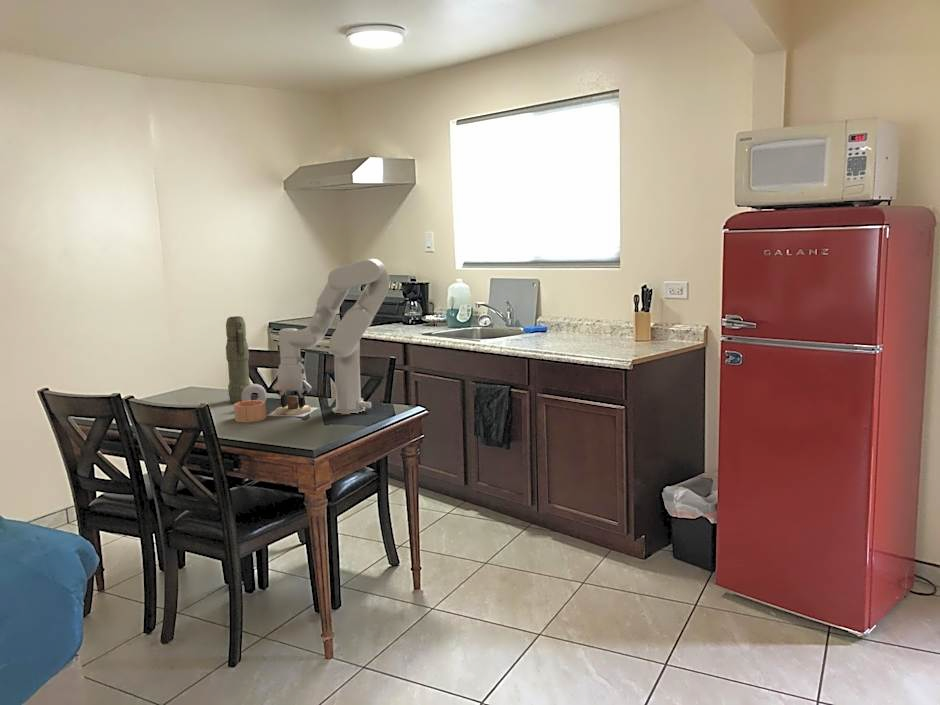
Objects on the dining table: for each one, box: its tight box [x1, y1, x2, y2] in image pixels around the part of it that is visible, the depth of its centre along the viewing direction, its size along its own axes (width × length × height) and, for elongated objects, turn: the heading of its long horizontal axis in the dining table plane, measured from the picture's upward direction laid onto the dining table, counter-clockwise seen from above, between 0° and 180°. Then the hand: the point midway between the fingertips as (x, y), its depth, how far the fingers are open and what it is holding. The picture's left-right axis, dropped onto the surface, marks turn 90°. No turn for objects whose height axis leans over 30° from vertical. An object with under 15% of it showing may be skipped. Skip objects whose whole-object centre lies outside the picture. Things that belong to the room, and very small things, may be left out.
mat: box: [266, 406, 319, 418], centre depth 284 cm, size 15×15×1 cm
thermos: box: [225, 315, 252, 404], centre depth 304 cm, size 9×12×35 cm
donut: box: [241, 383, 268, 402], centre depth 291 cm, size 10×4×10 cm, turn 125°
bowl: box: [233, 399, 267, 423], centre depth 273 cm, size 11×11×6 cm
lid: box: [275, 395, 311, 415], centre depth 284 cm, size 13×13×6 cm
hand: (293, 406), depth 284 cm, fingers open, 6 cm apart
